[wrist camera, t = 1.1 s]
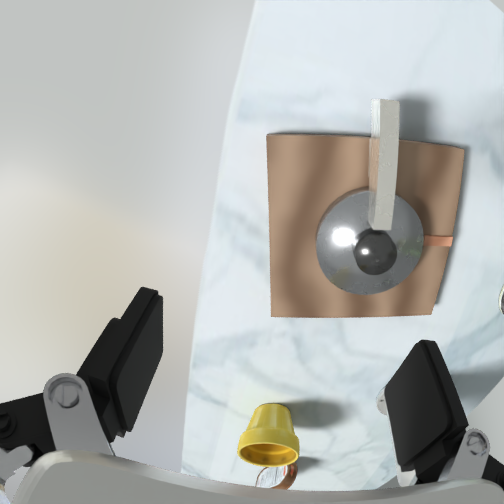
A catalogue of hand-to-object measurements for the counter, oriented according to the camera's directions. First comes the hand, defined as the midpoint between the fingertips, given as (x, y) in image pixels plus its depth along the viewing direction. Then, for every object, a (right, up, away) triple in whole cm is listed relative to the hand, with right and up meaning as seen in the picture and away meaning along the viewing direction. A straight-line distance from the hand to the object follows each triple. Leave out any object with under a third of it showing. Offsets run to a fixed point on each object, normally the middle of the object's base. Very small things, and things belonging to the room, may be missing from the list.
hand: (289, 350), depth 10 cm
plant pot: (+3, -26, +42) cm, 49 cm away
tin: (+5, -49, +53) cm, 73 cm away
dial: (+11, +9, +20) cm, 25 cm away
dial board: (+12, +6, +24) cm, 27 cm away
